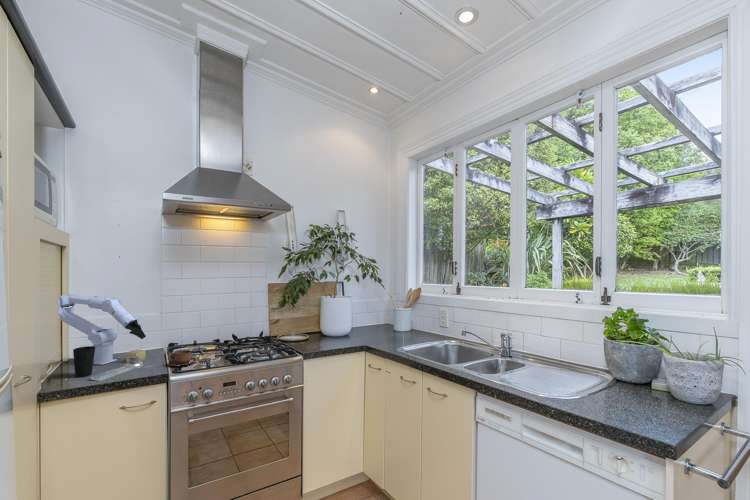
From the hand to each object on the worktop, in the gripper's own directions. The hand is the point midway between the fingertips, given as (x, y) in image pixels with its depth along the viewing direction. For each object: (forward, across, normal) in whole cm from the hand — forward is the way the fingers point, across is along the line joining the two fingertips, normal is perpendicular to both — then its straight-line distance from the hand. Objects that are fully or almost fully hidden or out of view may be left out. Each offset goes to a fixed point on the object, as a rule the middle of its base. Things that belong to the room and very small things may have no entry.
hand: (142, 335), depth 171 cm
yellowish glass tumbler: (+5, +10, +9) cm, 15 cm away
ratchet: (+9, -5, +17) cm, 20 cm away
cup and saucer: (+25, -3, -3) cm, 25 cm away
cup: (0, -5, +26) cm, 27 cm away
